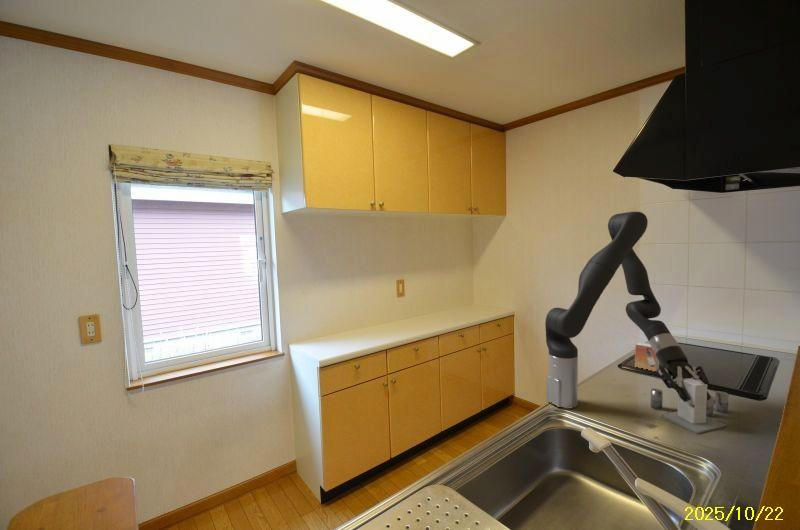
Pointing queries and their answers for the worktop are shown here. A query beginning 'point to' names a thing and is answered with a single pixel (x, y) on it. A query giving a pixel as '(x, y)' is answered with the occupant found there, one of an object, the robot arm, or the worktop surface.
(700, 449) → the worktop surface
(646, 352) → the small box
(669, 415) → the slate tile
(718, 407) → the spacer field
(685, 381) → the skincare box
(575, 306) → the robot arm
